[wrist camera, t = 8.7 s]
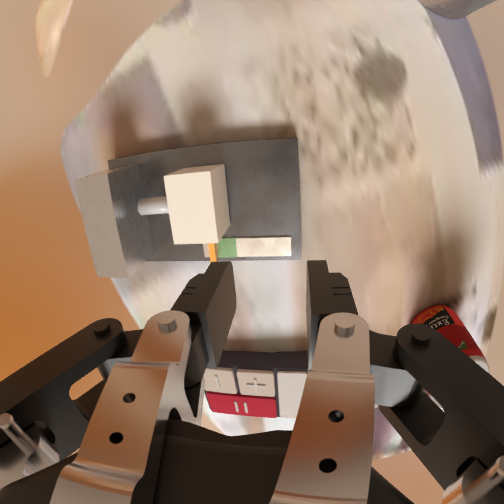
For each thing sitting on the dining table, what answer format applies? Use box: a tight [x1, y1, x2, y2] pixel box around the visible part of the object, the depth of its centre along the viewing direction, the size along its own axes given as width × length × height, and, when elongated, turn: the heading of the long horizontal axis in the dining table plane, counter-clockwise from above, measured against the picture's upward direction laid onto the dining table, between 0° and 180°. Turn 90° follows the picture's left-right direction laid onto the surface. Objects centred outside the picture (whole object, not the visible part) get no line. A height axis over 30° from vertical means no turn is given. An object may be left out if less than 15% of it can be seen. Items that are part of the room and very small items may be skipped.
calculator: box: [204, 351, 308, 418], centre depth 38 cm, size 11×4×15 cm
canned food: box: [411, 305, 489, 408], centre depth 28 cm, size 8×8×11 cm
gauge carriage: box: [138, 164, 230, 262], centre depth 27 cm, size 10×8×5 cm
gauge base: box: [75, 138, 301, 278], centre depth 27 cm, size 12×20×8 cm, turn 94°
